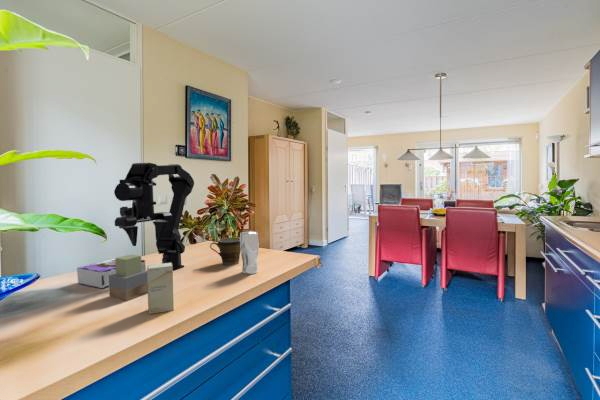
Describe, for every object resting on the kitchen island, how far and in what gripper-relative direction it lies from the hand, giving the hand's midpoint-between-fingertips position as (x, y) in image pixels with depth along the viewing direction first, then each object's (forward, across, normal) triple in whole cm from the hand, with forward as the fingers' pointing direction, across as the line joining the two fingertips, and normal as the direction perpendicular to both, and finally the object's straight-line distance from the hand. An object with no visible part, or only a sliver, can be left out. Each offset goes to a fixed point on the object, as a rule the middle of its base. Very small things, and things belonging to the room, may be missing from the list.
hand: (146, 243), depth 109 cm
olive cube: (+6, +12, +8) cm, 16 cm away
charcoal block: (+10, +12, +8) cm, 17 cm away
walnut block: (+13, +12, +8) cm, 20 cm away
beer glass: (+13, -22, +28) cm, 38 cm away
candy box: (+10, +13, -12) cm, 20 cm away
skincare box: (+13, +16, +26) cm, 33 cm away
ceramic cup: (+13, -28, +12) cm, 33 cm away
